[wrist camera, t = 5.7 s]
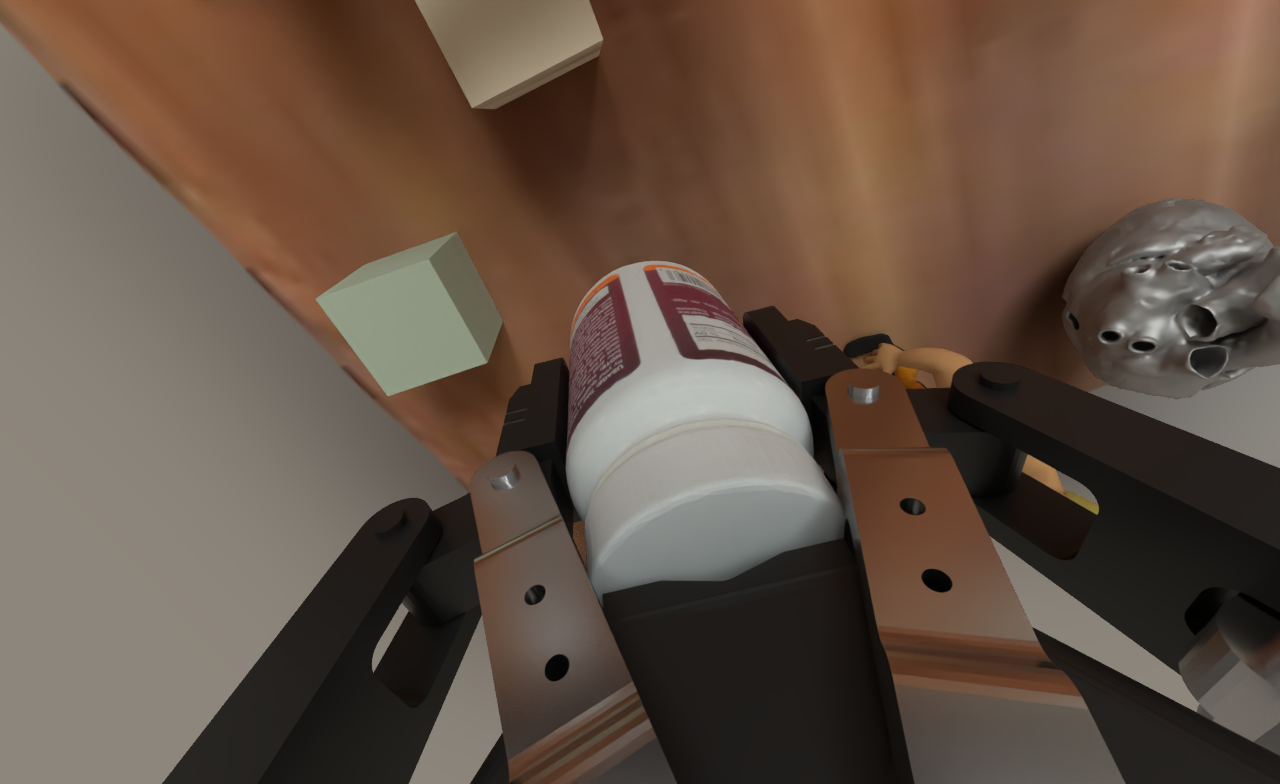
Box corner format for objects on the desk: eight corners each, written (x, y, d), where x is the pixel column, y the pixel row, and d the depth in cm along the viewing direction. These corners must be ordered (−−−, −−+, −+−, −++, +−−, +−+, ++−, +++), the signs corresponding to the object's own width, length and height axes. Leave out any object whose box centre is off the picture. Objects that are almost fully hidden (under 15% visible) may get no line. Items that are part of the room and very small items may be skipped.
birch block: (423, -34, 17) (371, -82, 13) (540, -101, 17) (525, -173, 12) (495, 109, 20) (471, 108, 16) (598, 56, 19) (603, 39, 15)
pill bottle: (603, 420, 15) (623, 697, 8) (544, 290, 12) (496, 531, 5) (741, 374, 15) (888, 623, 8) (708, 231, 12) (885, 408, 5)
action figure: (819, 327, 27) (1028, 514, 14) (875, 290, 26) (1148, 456, 14) (874, 424, 32) (1070, 632, 19) (922, 395, 31) (1161, 594, 18)
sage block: (365, 264, 23) (315, 299, 18) (457, 231, 22) (428, 258, 18) (420, 348, 25) (387, 396, 21) (503, 320, 25) (487, 362, 21)
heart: (1000, 383, 30) (1256, 493, 20) (963, 277, 26) (1271, 346, 15) (1128, 282, 30) (1468, 342, 19) (1113, 154, 25) (1549, 139, 15)
